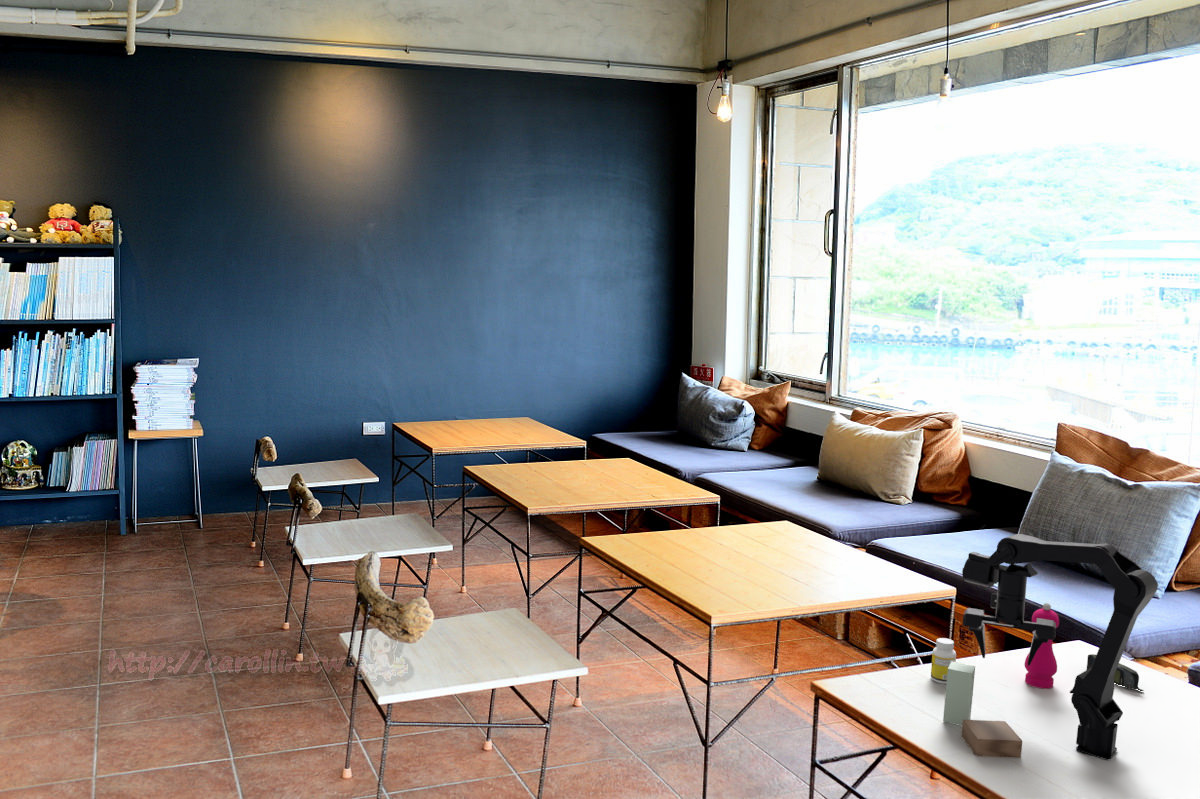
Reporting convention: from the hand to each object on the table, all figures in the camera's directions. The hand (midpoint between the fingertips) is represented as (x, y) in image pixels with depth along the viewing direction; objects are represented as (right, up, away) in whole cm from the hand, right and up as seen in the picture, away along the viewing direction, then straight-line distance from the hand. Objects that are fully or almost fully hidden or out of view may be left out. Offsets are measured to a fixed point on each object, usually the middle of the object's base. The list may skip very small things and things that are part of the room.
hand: (1006, 661), depth 228 cm
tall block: (-11, -13, -1) cm, 17 cm away
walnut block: (-8, -15, -13) cm, 21 cm away
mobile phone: (+36, -12, +25) cm, 46 cm away
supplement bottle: (-7, -10, +21) cm, 25 cm away
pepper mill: (+16, -11, +22) cm, 29 cm away
